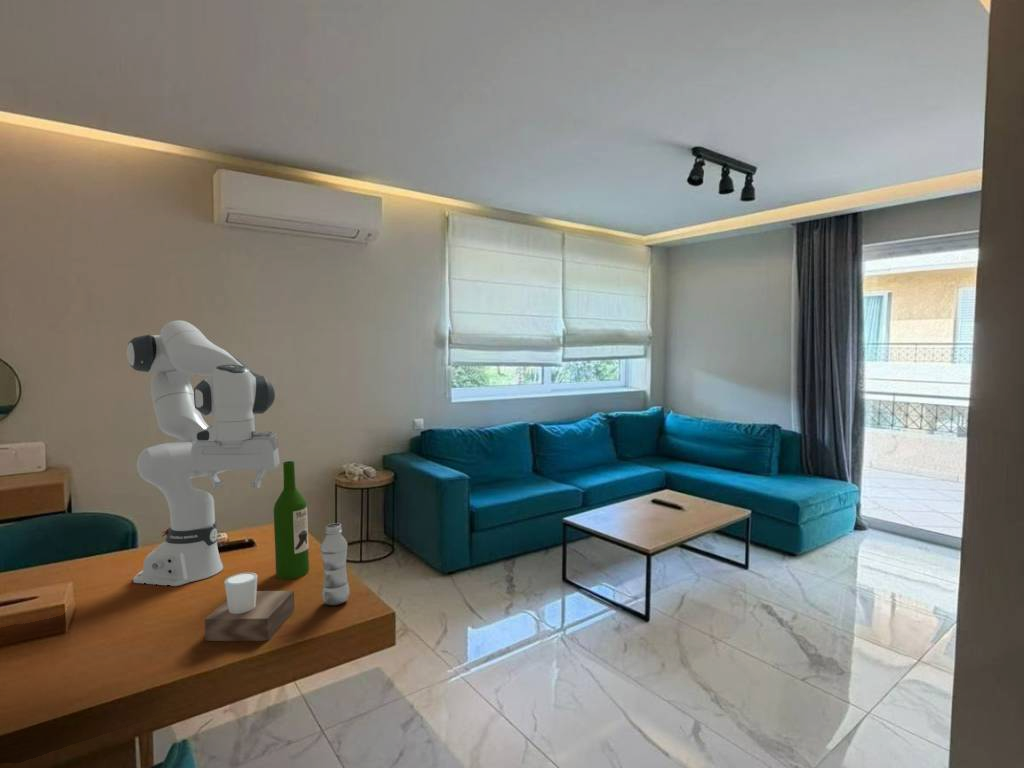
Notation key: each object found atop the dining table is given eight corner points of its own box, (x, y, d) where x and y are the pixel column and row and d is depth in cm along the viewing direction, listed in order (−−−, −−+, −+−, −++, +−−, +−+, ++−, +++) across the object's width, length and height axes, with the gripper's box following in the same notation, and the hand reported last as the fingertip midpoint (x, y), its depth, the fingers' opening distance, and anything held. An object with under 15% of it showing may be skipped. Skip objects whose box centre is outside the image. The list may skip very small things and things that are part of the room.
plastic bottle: (354, 601, 137) (352, 524, 136) (330, 611, 132) (327, 531, 131) (341, 594, 141) (338, 519, 140) (317, 603, 136) (314, 526, 135)
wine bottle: (296, 580, 150) (291, 466, 148) (269, 577, 153) (264, 464, 151) (315, 568, 159) (311, 459, 157) (289, 565, 161) (285, 458, 159)
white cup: (255, 598, 128) (254, 569, 128) (261, 608, 123) (260, 579, 123) (223, 606, 124) (222, 577, 124) (228, 618, 119) (227, 587, 118)
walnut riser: (205, 641, 119) (204, 619, 119) (238, 611, 133) (237, 591, 133) (268, 640, 119) (267, 618, 118) (294, 610, 133) (293, 590, 132)
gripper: (283, 429, 133) (284, 484, 134) (201, 430, 134) (203, 485, 134) (271, 433, 127) (273, 490, 128) (185, 434, 127) (188, 491, 128)
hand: (237, 487), depth 131 cm, fingers open, 8 cm apart
